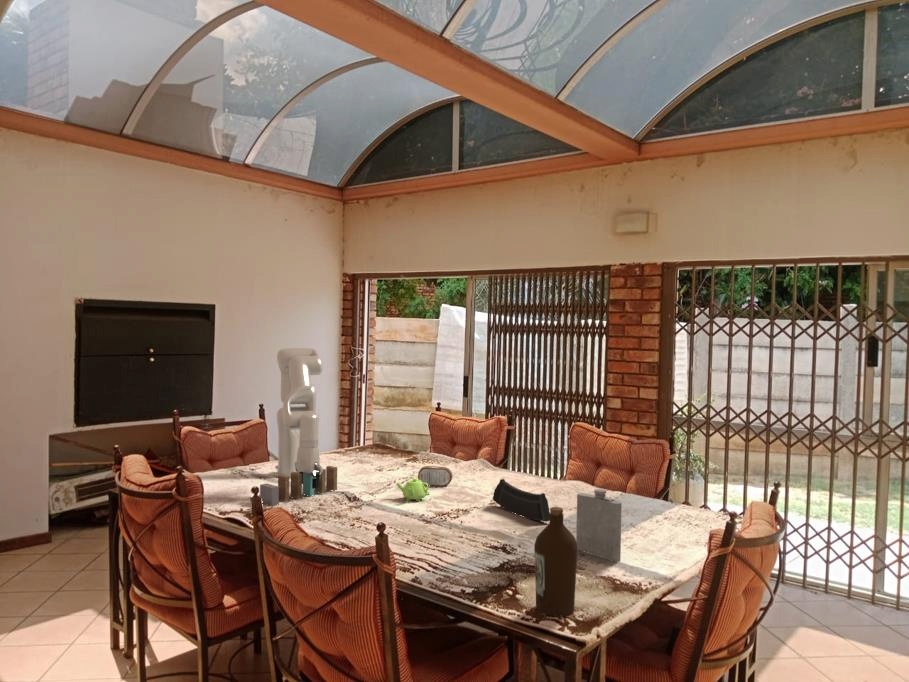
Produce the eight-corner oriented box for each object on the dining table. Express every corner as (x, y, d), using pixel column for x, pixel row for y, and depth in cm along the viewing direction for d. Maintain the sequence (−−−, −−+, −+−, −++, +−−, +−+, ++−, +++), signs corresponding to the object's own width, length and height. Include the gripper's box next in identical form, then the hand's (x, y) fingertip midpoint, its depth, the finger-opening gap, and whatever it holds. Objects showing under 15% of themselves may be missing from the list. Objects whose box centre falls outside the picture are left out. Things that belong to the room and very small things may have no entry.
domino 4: (322, 494, 287) (322, 470, 286) (314, 492, 290) (314, 468, 290) (325, 493, 288) (325, 469, 288) (318, 491, 291) (318, 467, 291)
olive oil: (569, 599, 179) (571, 502, 178) (582, 617, 168) (584, 513, 168) (529, 601, 177) (530, 503, 177) (539, 618, 167) (540, 514, 166)
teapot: (433, 500, 279) (434, 479, 278) (408, 504, 272) (409, 482, 272) (419, 495, 288) (420, 474, 288) (395, 498, 282) (395, 477, 282)
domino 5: (333, 491, 291) (333, 467, 291) (326, 489, 294) (326, 466, 294) (337, 491, 293) (337, 467, 292) (329, 489, 296) (329, 465, 296)
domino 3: (310, 496, 282) (310, 472, 282) (302, 494, 285) (303, 470, 285) (313, 496, 284) (314, 471, 283) (306, 494, 287) (306, 469, 287)
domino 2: (298, 499, 278) (298, 474, 277) (290, 497, 281) (290, 472, 281) (301, 498, 279) (302, 473, 279) (294, 496, 282) (294, 471, 282)
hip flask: (574, 549, 220) (575, 486, 220) (582, 546, 223) (583, 484, 222) (616, 562, 208) (617, 495, 208) (624, 559, 211) (625, 493, 210)
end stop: (259, 502, 272) (260, 484, 272) (266, 501, 274) (266, 483, 274) (271, 506, 267) (272, 487, 267) (278, 504, 269) (278, 486, 269)
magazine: (556, 500, 246) (506, 461, 270) (549, 501, 244) (499, 462, 268) (545, 542, 251) (497, 501, 274) (538, 544, 249) (491, 502, 273)
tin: (452, 485, 306) (452, 466, 306) (451, 487, 303) (451, 468, 303) (418, 484, 307) (418, 465, 307) (417, 486, 304) (417, 466, 304)
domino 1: (285, 502, 273) (285, 476, 273) (277, 499, 276) (278, 474, 276) (289, 501, 274) (289, 476, 274) (281, 499, 278) (281, 474, 278)
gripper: (288, 442, 287) (287, 484, 287) (314, 447, 276) (314, 491, 276) (303, 440, 293) (302, 481, 293) (329, 445, 281) (329, 488, 282)
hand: (308, 486), depth 284 cm, fingers open, 9 cm apart
